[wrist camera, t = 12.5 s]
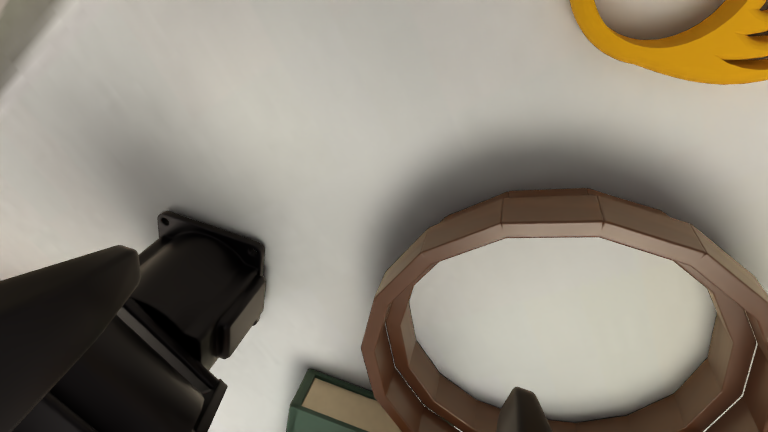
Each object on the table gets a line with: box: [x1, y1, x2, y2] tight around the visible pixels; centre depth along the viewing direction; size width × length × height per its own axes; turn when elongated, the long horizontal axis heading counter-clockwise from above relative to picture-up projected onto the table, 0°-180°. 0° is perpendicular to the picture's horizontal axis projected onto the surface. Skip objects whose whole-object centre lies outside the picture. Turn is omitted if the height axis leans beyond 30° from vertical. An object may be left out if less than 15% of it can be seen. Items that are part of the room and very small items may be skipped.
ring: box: [361, 188, 768, 432], centre depth 22 cm, size 17×17×4 cm
